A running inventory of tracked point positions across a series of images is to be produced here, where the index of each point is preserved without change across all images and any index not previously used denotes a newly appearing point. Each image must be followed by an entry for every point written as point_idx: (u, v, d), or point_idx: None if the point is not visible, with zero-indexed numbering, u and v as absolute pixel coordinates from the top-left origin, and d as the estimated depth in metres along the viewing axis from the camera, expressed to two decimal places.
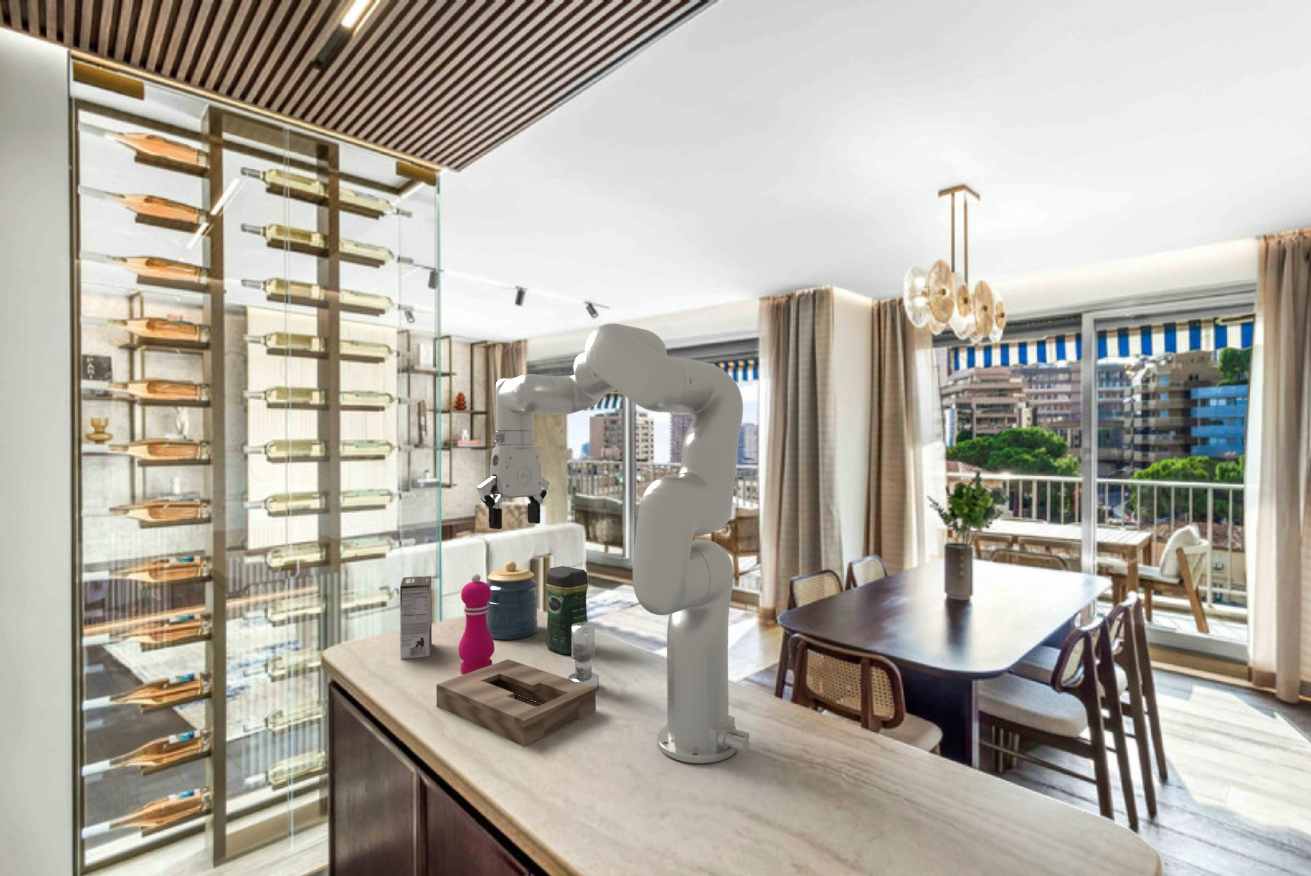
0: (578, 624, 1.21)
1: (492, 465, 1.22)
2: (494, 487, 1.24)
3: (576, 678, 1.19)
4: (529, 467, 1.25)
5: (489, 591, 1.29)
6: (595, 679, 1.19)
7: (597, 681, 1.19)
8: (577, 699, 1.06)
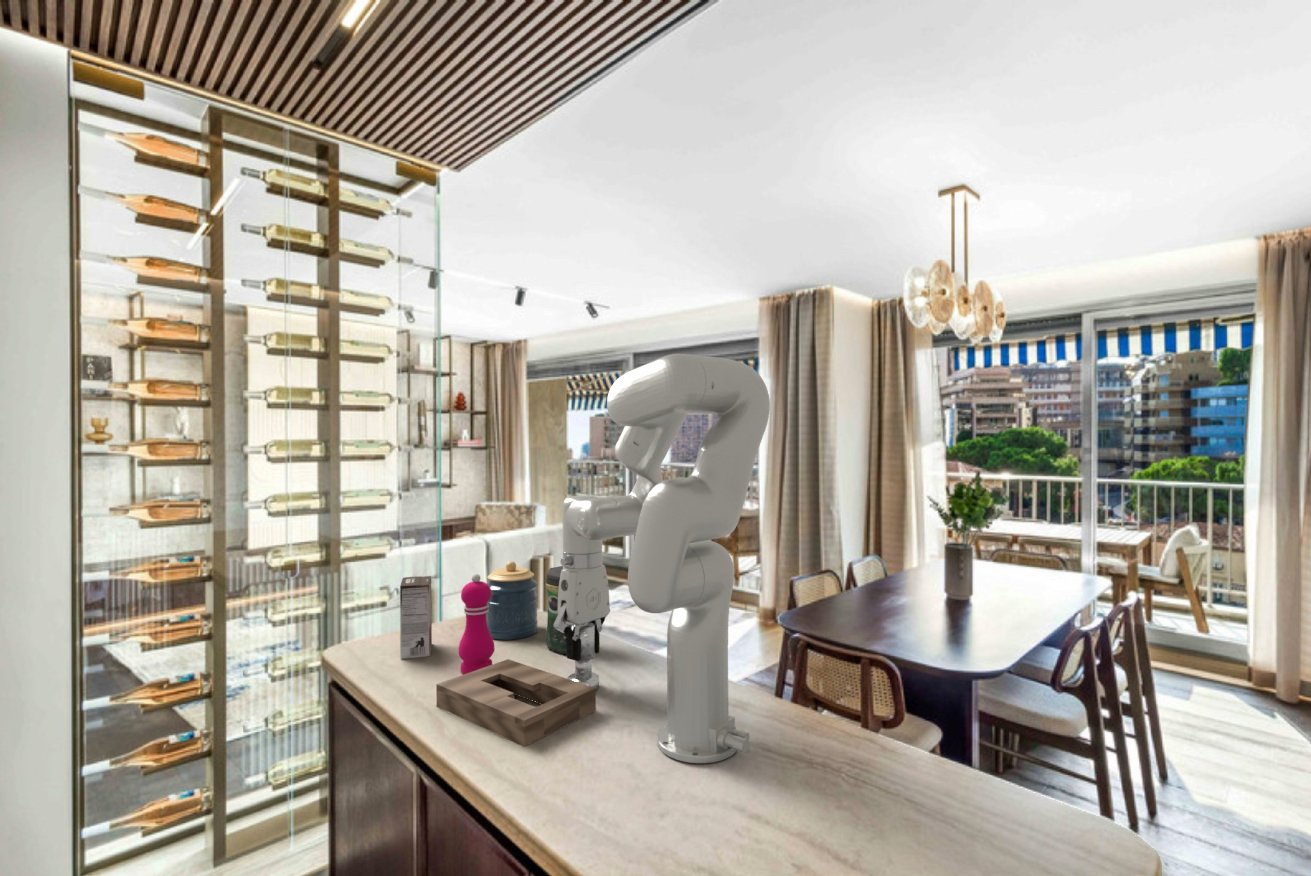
0: None
1: (561, 589, 1.17)
2: None
3: (576, 678, 1.19)
4: (597, 589, 1.19)
5: (489, 591, 1.29)
6: (595, 679, 1.19)
7: (597, 681, 1.19)
8: (577, 699, 1.06)
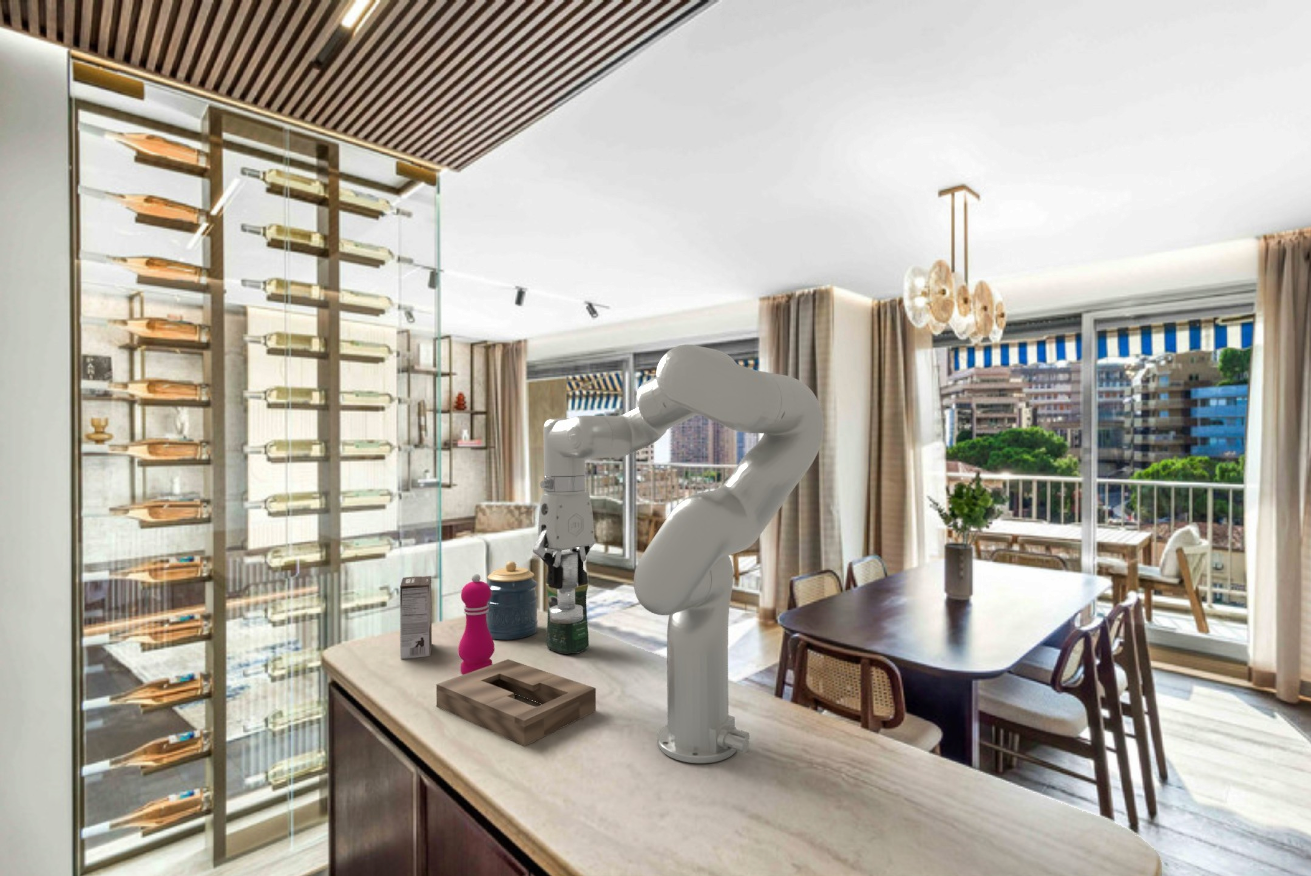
0: (561, 553, 1.16)
1: (541, 514, 1.12)
2: None
3: (558, 608, 1.14)
4: (580, 515, 1.14)
5: (489, 591, 1.29)
6: (578, 609, 1.14)
7: (580, 611, 1.14)
8: (577, 699, 1.06)
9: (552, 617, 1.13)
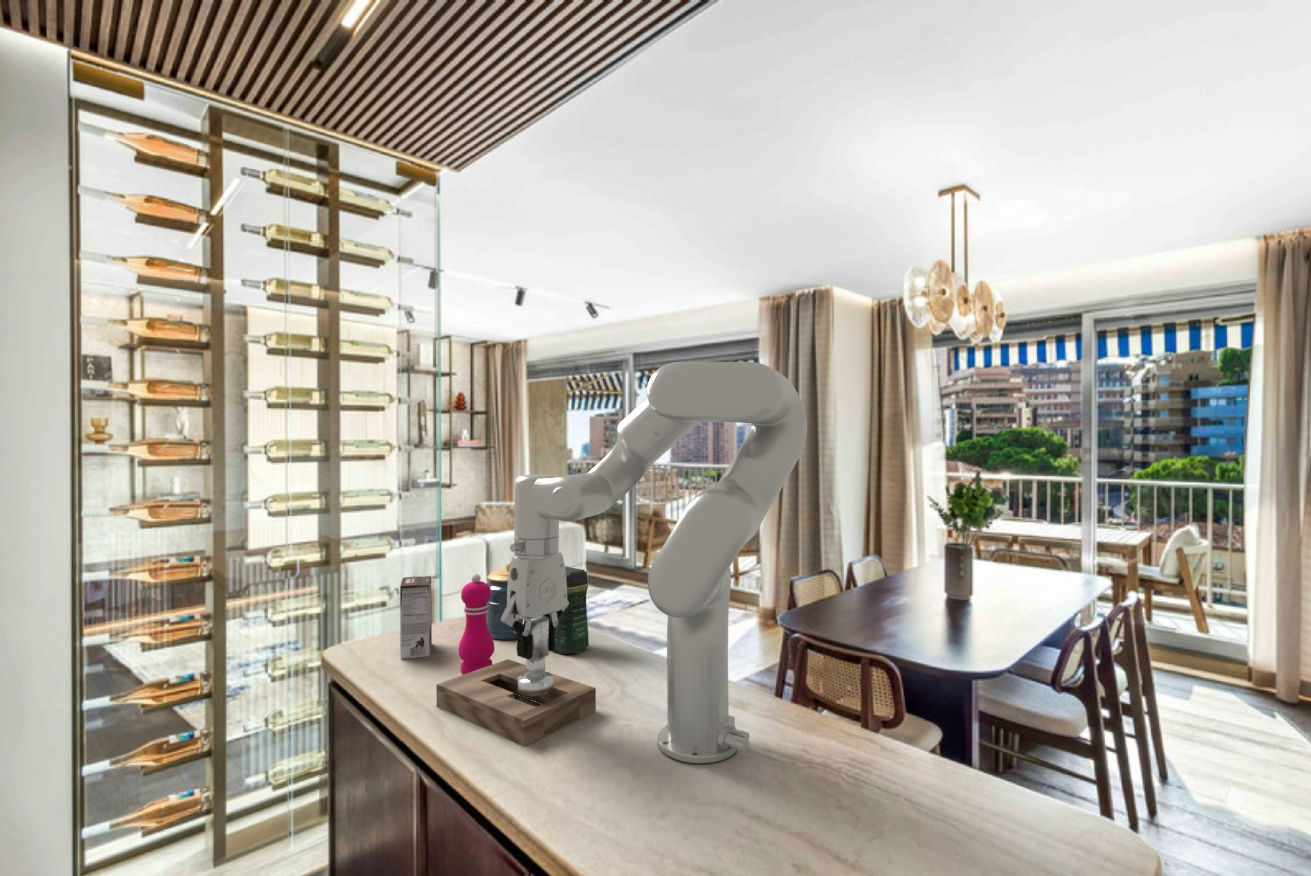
0: None
1: (510, 579, 1.04)
2: None
3: (527, 678, 1.06)
4: (553, 579, 1.07)
5: (489, 591, 1.29)
6: (548, 679, 1.07)
7: (550, 682, 1.06)
8: (577, 699, 1.06)
9: (520, 689, 1.05)
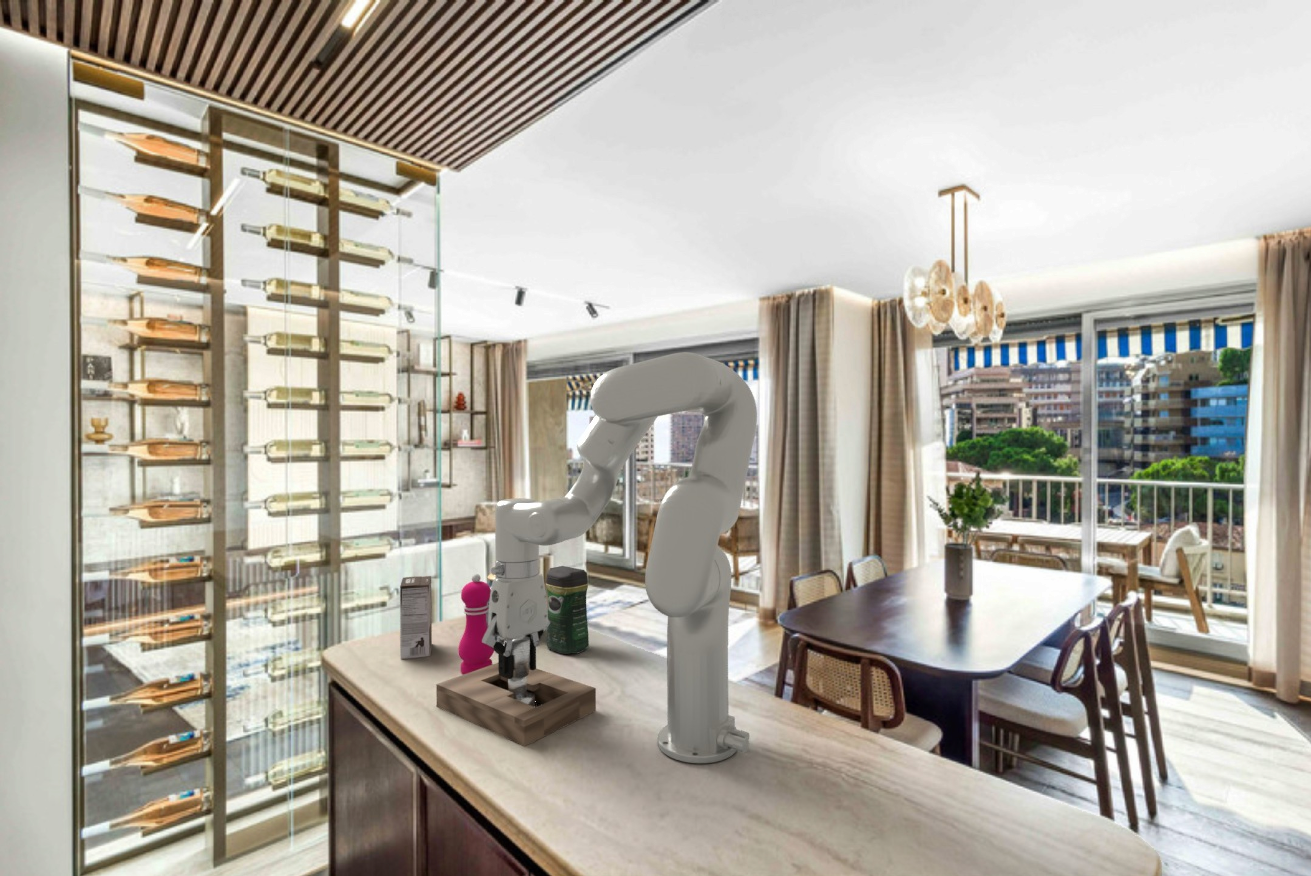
0: None
1: (491, 601, 1.07)
2: None
3: None
4: (533, 600, 1.10)
5: (489, 591, 1.29)
6: (530, 698, 1.10)
7: (532, 700, 1.10)
8: (577, 699, 1.06)
9: None
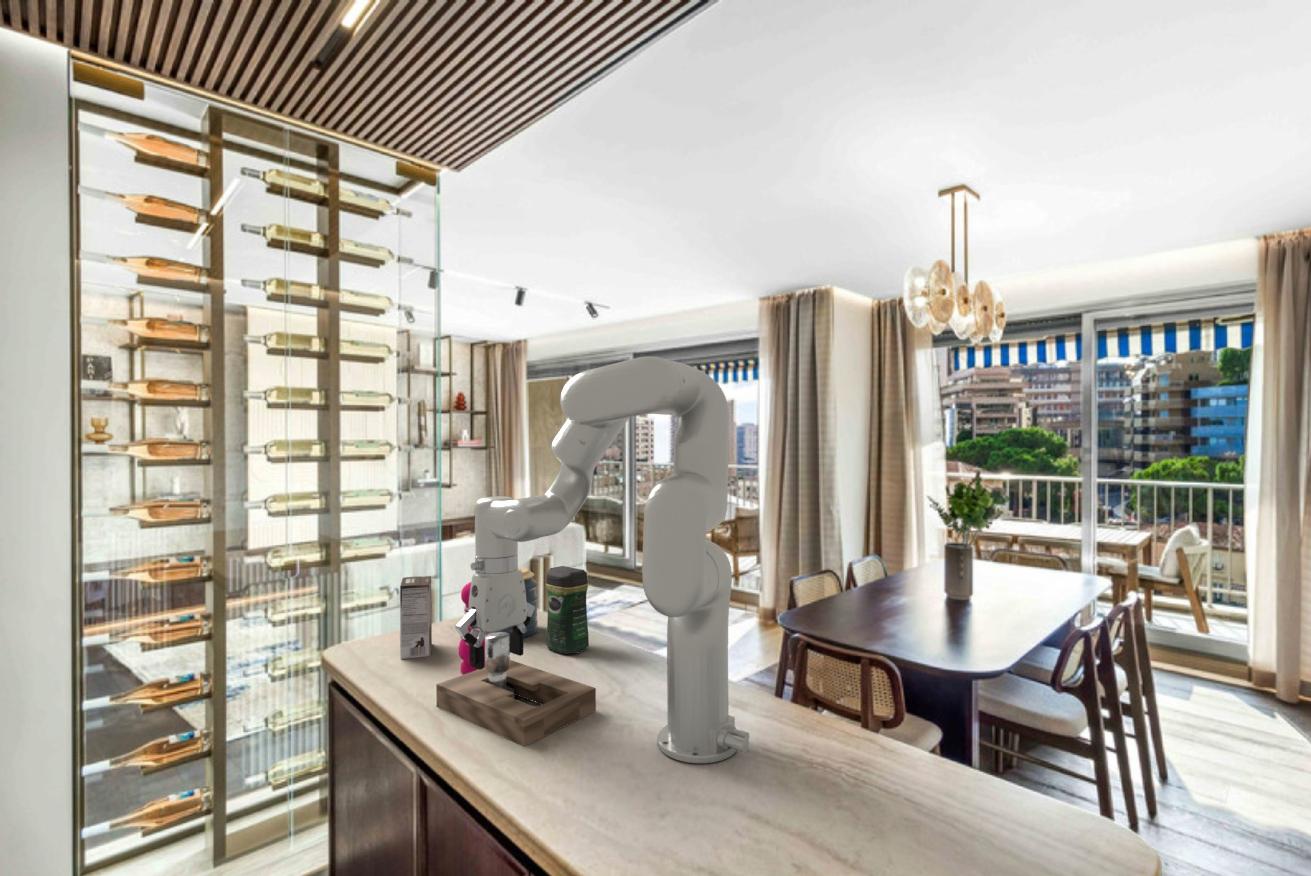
0: (492, 634, 1.15)
1: (471, 596, 1.11)
2: None
3: None
4: (512, 595, 1.13)
5: None
6: None
7: None
8: (577, 699, 1.06)
9: None
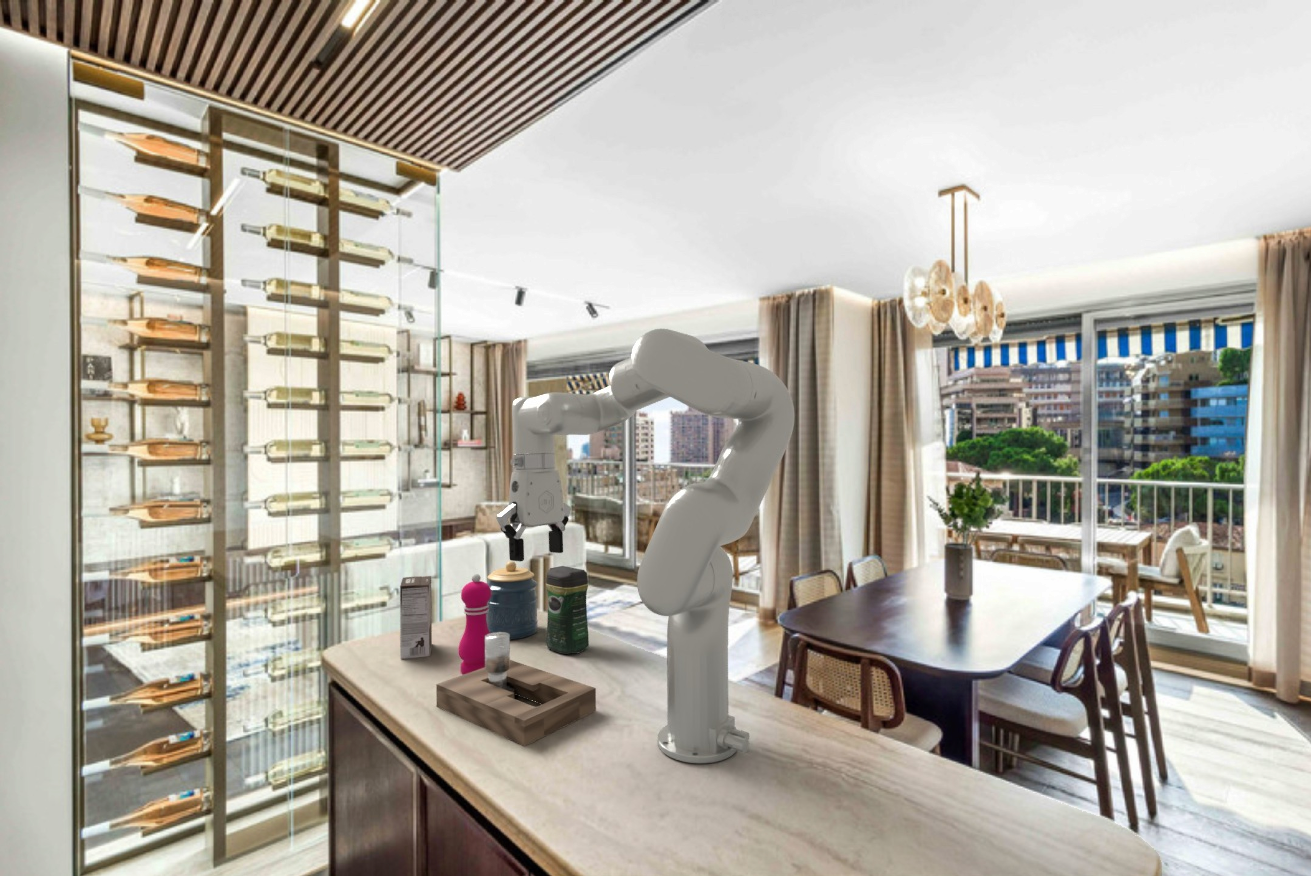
0: (492, 634, 1.15)
1: (511, 492, 1.13)
2: (513, 515, 1.14)
3: None
4: (550, 492, 1.15)
5: (489, 591, 1.29)
6: None
7: None
8: (577, 699, 1.06)
9: None
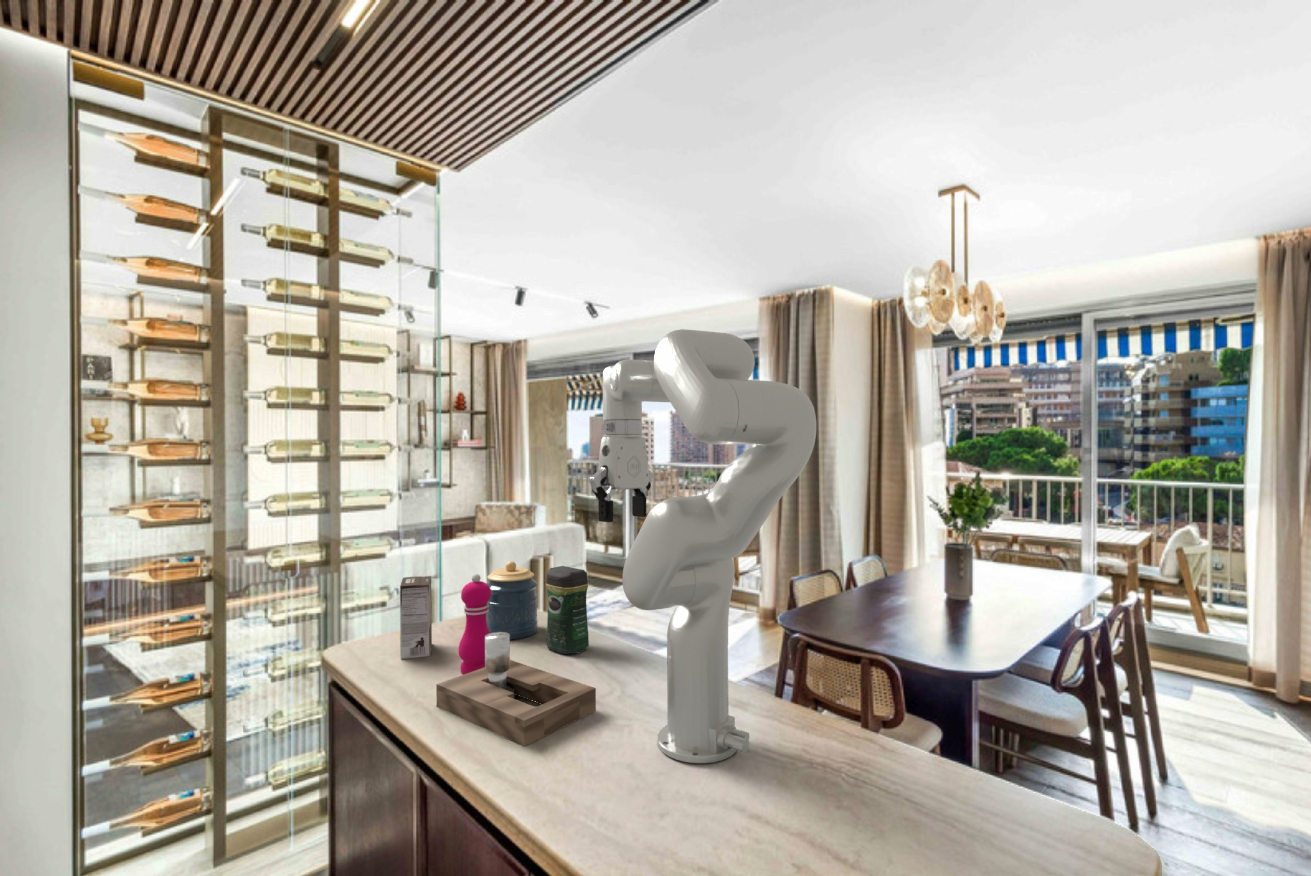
0: (492, 634, 1.15)
1: (602, 456, 1.17)
2: (602, 479, 1.19)
3: None
4: (638, 458, 1.20)
5: (489, 591, 1.29)
6: None
7: None
8: (577, 699, 1.06)
9: None
